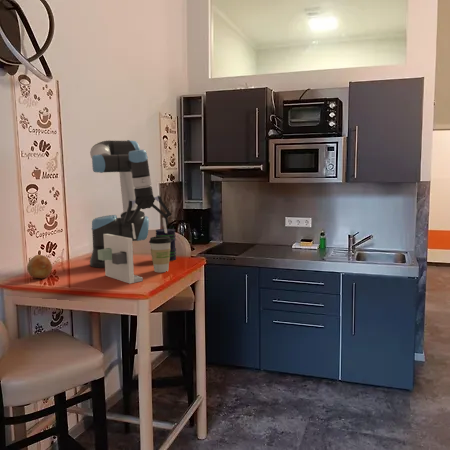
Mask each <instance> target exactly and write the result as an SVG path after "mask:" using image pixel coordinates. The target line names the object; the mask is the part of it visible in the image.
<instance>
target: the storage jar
mask: <svg viewBox="0 0 450 450" xmlns="http://www.w3.org/2000/svg"><path fill="white" fill-rule="evenodd" d="M157 236H168V237H170V240H171V243H170V260H169V262H172V261H176V260H177V248H176V228H167V233H165V232H164V228H158V229H155V237H157Z"/></svg>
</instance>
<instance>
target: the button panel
mask: <svg viewBox="0 0 450 450" xmlns="http://www.w3.org/2000/svg"><path fill="white" fill-rule="evenodd" d="M103 236H104V249H108V248H111V249H112V253H118V252H126V253H127V263H124V264H119V265H117V264H113V263H112V259H110V260H105V267H104V271H105V275H104V276H106V277H108V278H111V279H115V280H117V281H121V282H124V283H127V284H134V283H140V282H144V281H143V280H144V278H143V276H139V275H136V274H135V271H134V270H135V268H134V250H133V247H134V246H133V241H132V238H128V237H123V236H117V235H112V234H103Z"/></svg>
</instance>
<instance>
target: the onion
mask: <svg viewBox="0 0 450 450" xmlns="http://www.w3.org/2000/svg"><path fill="white" fill-rule="evenodd" d="M26 269H27V272H28V274H29V276H31V278H33V279H45V278H46V277H48V276H49V275H50V273H51V272H52V269H53V265H52V262H51V260H50V259H49V258H48V257H47V256H45V255H42V254H36V255H34V256H32V258H30V259H29V262H28V263H27V266H26Z"/></svg>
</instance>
